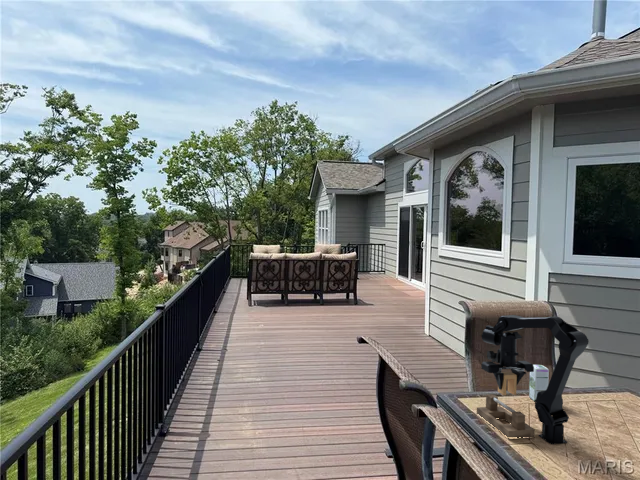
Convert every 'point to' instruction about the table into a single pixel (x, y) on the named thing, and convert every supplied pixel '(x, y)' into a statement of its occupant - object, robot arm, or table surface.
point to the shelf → (516, 418)
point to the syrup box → (538, 380)
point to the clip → (509, 383)
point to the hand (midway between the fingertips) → (506, 389)
